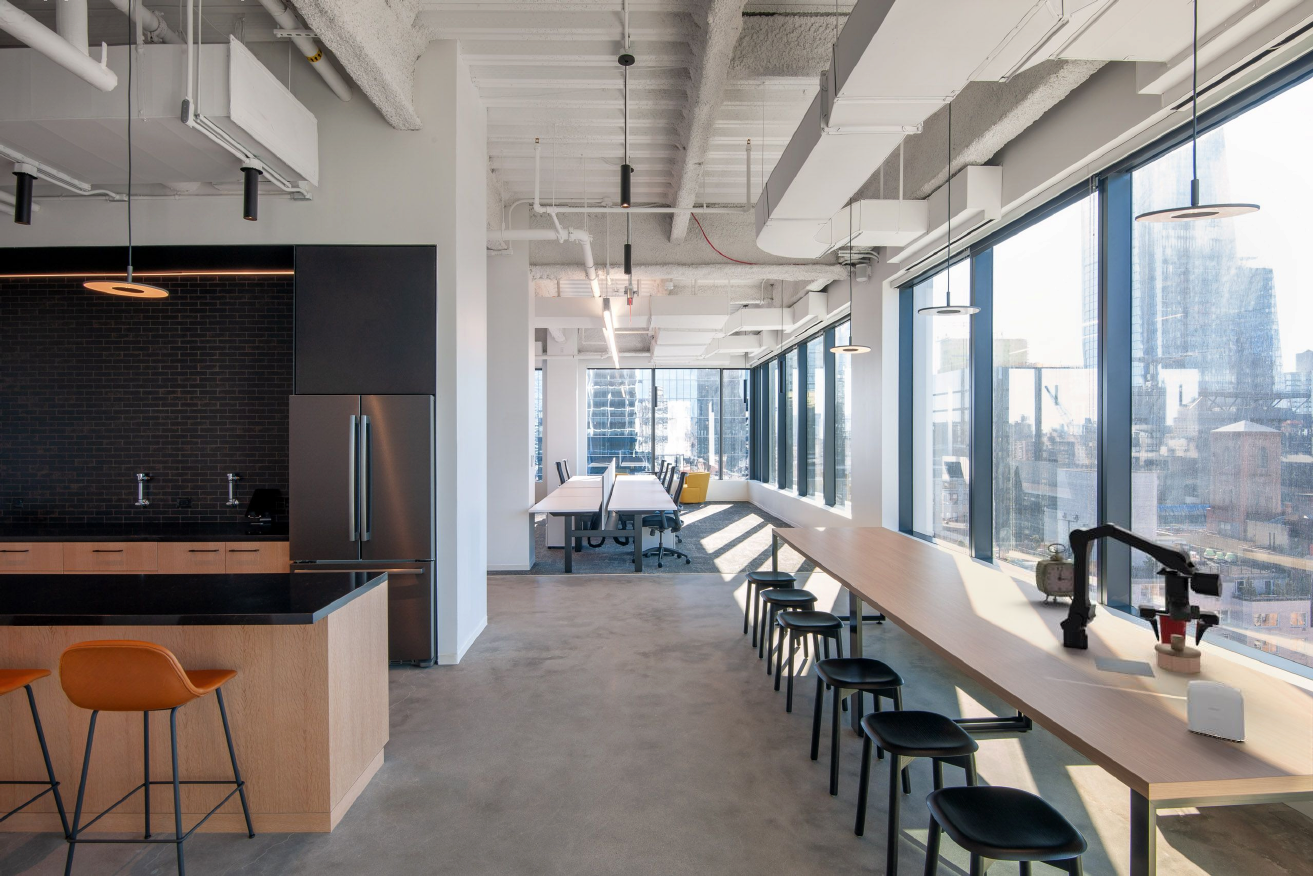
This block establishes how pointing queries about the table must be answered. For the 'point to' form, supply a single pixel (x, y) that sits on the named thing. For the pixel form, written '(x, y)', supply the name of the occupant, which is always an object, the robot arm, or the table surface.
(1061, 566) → the tabletop clock
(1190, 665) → the bowl
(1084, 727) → the table surface
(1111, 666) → the mat
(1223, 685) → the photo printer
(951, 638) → the table surface
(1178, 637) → the lid
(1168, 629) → the paper cup
